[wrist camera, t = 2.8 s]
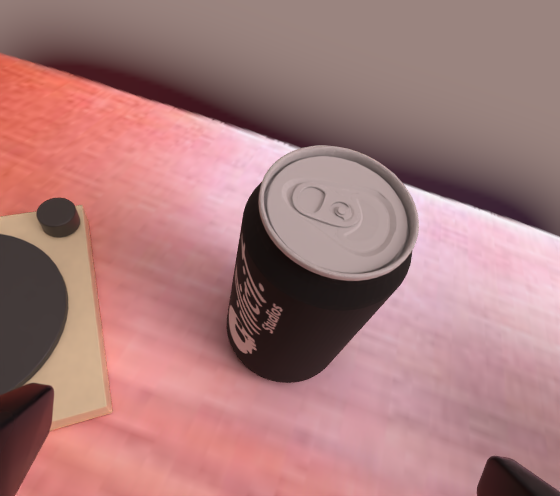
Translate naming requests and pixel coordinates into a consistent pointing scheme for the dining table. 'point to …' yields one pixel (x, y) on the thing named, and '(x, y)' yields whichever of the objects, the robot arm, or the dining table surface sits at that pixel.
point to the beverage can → (316, 259)
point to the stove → (52, 311)
